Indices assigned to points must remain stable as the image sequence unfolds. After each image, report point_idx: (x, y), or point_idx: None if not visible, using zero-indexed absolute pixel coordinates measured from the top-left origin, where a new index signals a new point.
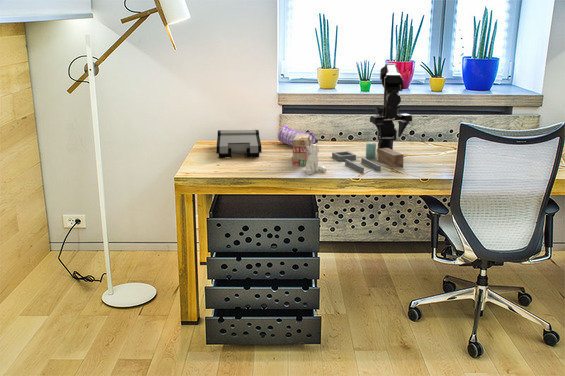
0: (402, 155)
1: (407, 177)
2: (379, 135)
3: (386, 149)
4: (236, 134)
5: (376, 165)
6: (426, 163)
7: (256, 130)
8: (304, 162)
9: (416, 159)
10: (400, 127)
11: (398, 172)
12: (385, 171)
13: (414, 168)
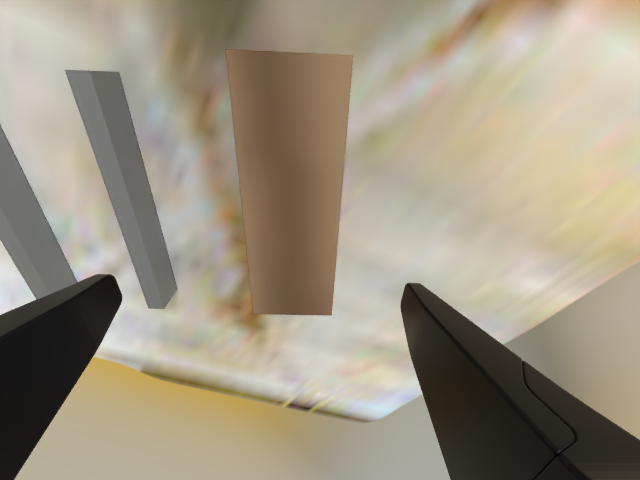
0: (322, 310)
1: (255, 379)
2: (52, 297)
3: (297, 125)
4: None
5: (143, 288)
6: (497, 246)
7: None
8: None
9: (538, 141)
10: (483, 461)
11: (255, 325)
12: (201, 296)
13: (365, 299)
